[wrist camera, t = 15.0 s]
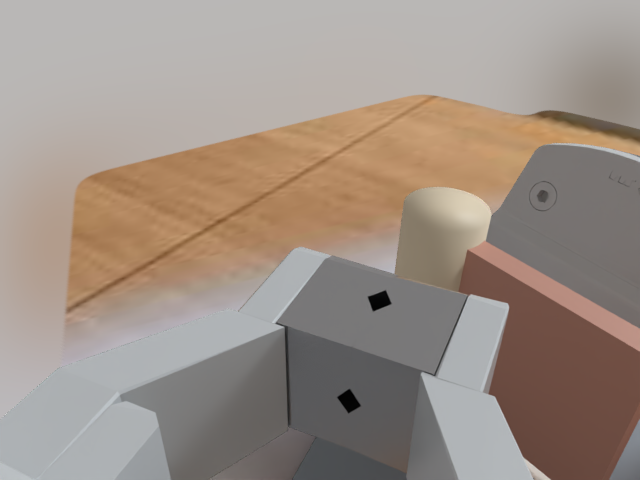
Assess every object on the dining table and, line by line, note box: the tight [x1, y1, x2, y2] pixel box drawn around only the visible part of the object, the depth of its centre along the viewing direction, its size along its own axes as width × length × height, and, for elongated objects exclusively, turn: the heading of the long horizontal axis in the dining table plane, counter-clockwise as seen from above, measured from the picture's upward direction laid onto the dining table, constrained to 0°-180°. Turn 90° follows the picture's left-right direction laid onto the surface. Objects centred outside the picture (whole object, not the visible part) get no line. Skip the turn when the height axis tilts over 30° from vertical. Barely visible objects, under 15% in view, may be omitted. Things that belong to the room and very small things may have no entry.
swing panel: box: [395, 187, 640, 480], centre depth 28 cm, size 13×4×10 cm, turn 39°
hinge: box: [486, 143, 640, 329], centre depth 41 cm, size 17×5×10 cm, turn 36°
